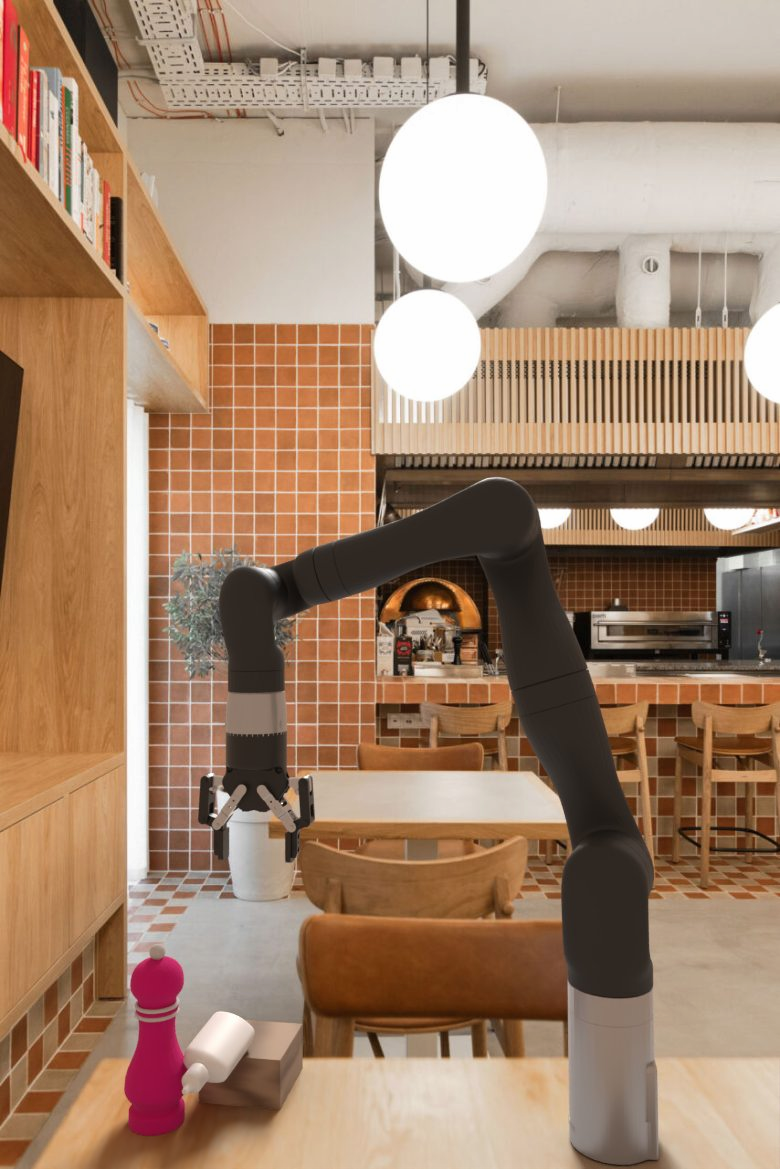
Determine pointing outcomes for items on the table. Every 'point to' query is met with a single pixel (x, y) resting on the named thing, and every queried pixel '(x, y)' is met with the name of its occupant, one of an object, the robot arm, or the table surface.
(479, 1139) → the table surface
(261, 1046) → the walnut box
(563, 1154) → the table surface
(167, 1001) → the pepper mill
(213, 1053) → the eye dropper bottle
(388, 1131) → the table surface
